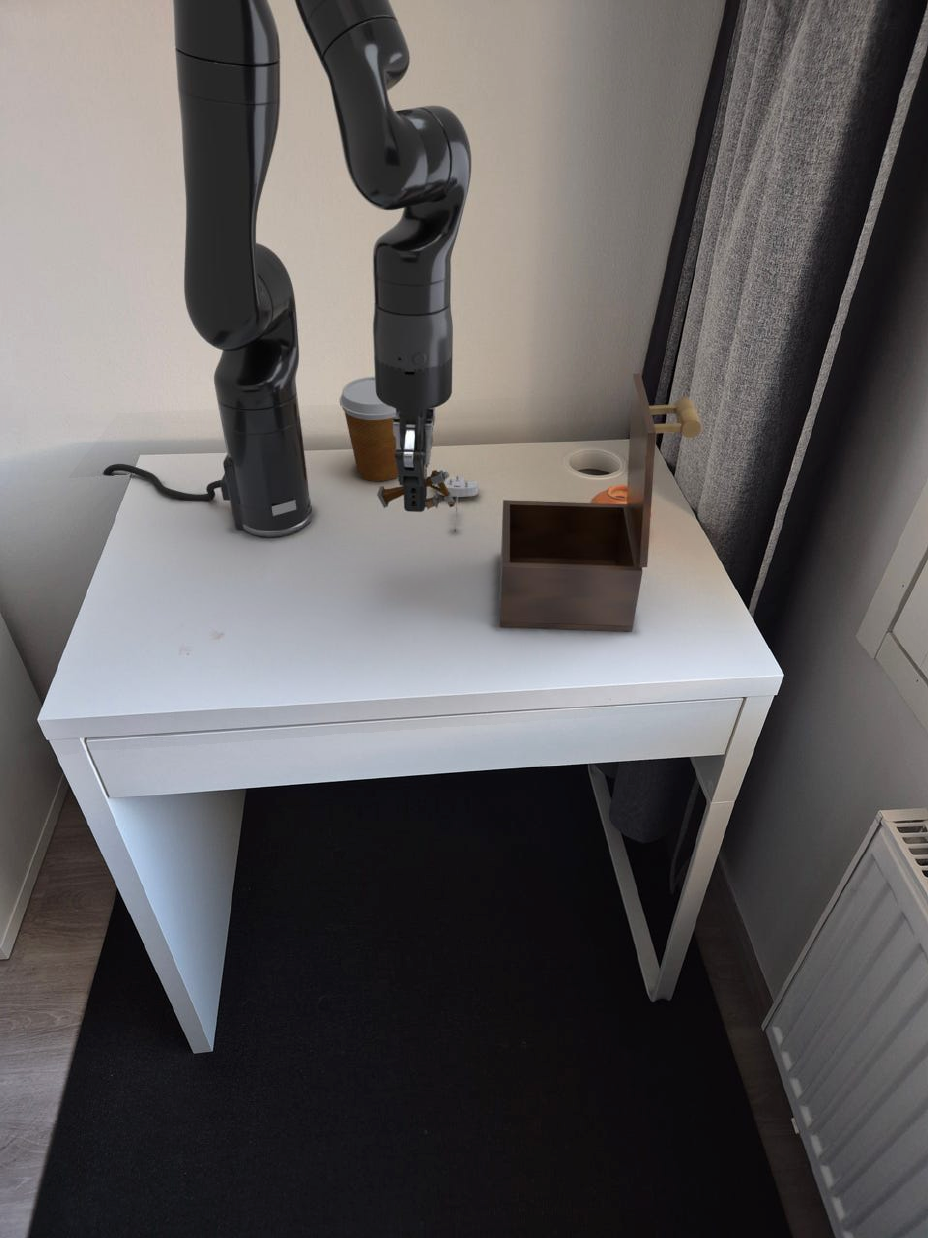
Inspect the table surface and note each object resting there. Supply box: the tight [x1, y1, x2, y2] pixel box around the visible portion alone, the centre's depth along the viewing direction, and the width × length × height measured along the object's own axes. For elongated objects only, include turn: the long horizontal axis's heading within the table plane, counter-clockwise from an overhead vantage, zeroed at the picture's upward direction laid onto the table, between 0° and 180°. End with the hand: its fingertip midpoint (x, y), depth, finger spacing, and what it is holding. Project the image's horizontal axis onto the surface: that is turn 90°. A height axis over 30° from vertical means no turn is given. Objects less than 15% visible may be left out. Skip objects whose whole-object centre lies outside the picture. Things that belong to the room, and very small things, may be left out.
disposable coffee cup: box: [339, 376, 398, 482], centre depth 118 cm, size 10×10×12 cm
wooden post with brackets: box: [376, 469, 456, 510], centre depth 93 cm, size 2×8×4 cm, turn 84°
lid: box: [626, 372, 703, 568], centre depth 90 cm, size 15×13×6 cm
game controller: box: [436, 475, 480, 533], centre depth 114 cm, size 6×12×3 cm, turn 16°
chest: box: [498, 499, 644, 632], centre depth 98 cm, size 15×13×8 cm
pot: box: [589, 484, 653, 518], centre depth 108 cm, size 8×8×7 cm
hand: (415, 504), depth 94 cm, fingers closed on wooden post with brackets, 1 cm apart
